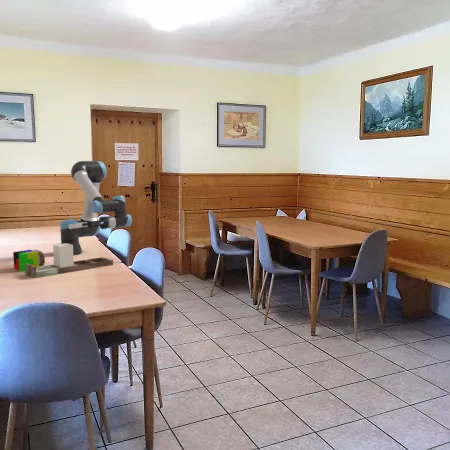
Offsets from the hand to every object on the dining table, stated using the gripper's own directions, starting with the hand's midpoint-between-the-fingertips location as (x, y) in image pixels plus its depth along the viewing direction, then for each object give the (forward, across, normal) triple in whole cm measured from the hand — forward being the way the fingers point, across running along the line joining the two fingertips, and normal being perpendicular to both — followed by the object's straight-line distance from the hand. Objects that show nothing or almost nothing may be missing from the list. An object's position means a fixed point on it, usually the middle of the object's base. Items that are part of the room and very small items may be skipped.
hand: (72, 226), depth 268 cm
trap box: (+4, 0, -25) cm, 25 cm away
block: (+8, -1, -22) cm, 24 cm away
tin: (+16, +26, -21) cm, 37 cm away
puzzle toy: (+24, +17, -22) cm, 37 cm away
